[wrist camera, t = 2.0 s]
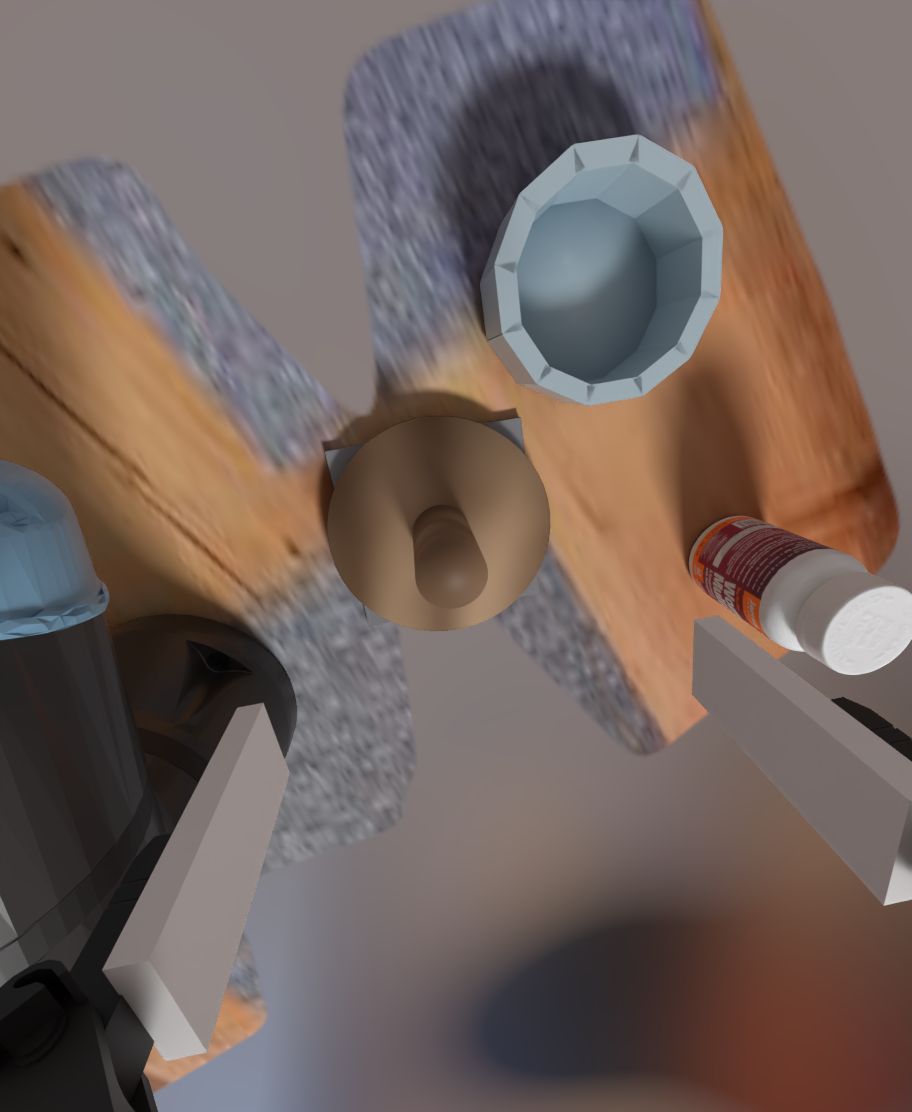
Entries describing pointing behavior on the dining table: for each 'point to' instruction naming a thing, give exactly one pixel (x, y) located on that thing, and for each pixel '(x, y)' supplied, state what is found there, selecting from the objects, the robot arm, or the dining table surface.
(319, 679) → the dining table surface
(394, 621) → the lid
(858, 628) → the pill bottle
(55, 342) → the dining table surface
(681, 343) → the bowl
